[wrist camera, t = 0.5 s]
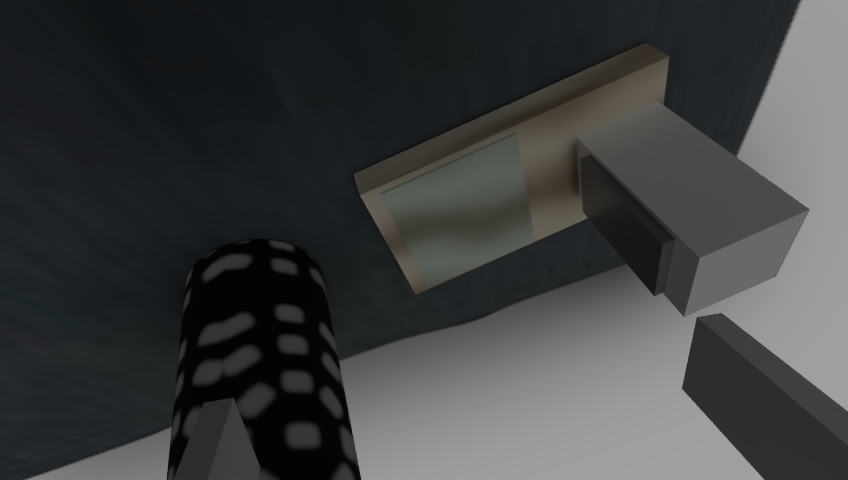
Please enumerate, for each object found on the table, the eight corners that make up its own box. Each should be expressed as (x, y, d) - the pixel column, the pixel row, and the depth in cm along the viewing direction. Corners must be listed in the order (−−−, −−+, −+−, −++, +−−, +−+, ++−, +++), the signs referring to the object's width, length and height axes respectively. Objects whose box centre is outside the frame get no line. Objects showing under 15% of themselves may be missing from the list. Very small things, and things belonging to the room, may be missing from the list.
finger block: (566, 140, 26) (686, 263, 19) (656, 100, 26) (809, 209, 19) (570, 200, 29) (672, 321, 23) (649, 165, 29) (775, 276, 23)
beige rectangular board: (353, 174, 25) (360, 197, 24) (645, 42, 25) (671, 57, 24) (408, 274, 33) (416, 296, 31) (635, 172, 33) (655, 190, 31)
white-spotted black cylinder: (343, 255, 30) (439, 647, 16) (293, 332, 34) (336, 700, 20) (209, 224, 25) (181, 740, 11) (169, 318, 29) (113, 786, 15)
